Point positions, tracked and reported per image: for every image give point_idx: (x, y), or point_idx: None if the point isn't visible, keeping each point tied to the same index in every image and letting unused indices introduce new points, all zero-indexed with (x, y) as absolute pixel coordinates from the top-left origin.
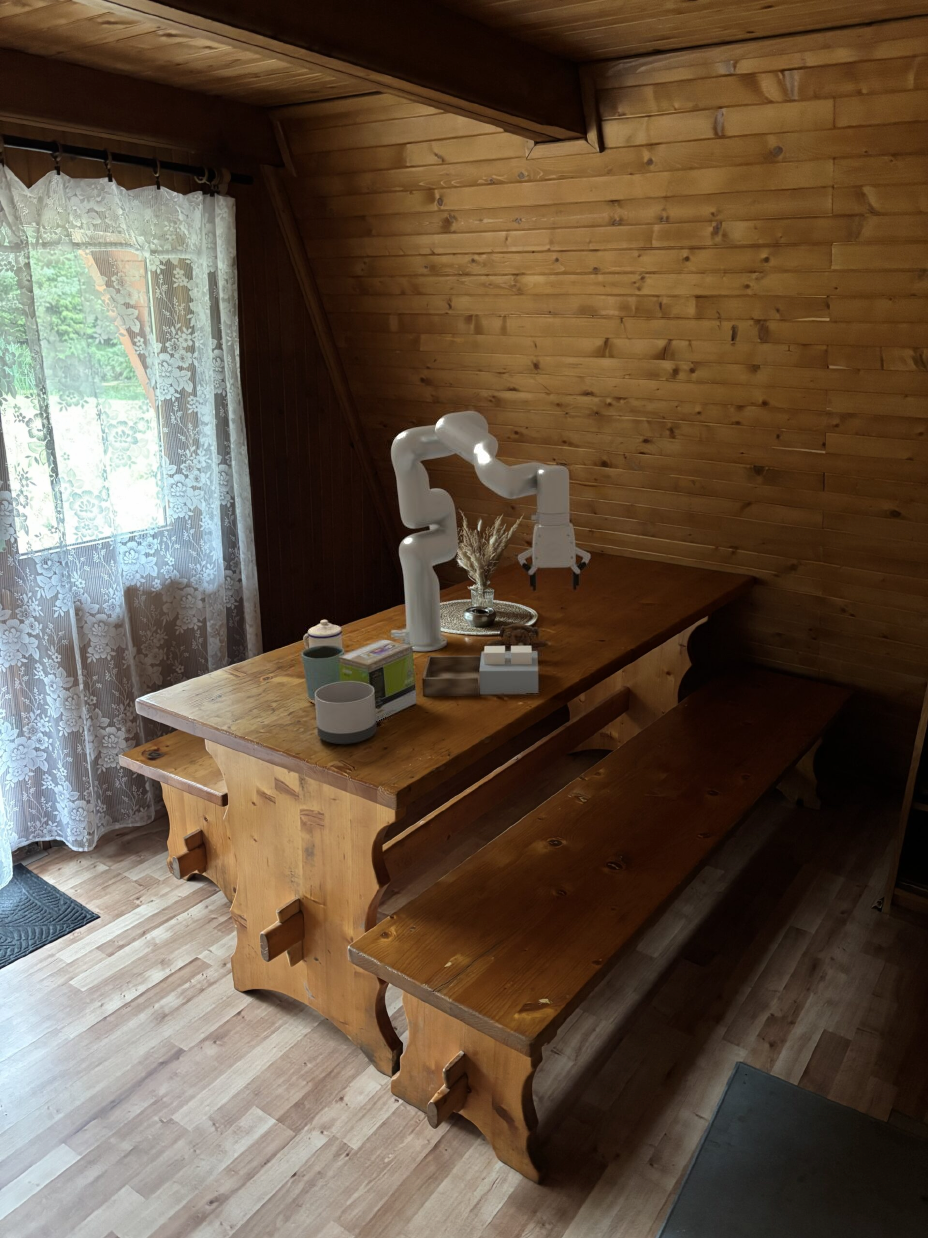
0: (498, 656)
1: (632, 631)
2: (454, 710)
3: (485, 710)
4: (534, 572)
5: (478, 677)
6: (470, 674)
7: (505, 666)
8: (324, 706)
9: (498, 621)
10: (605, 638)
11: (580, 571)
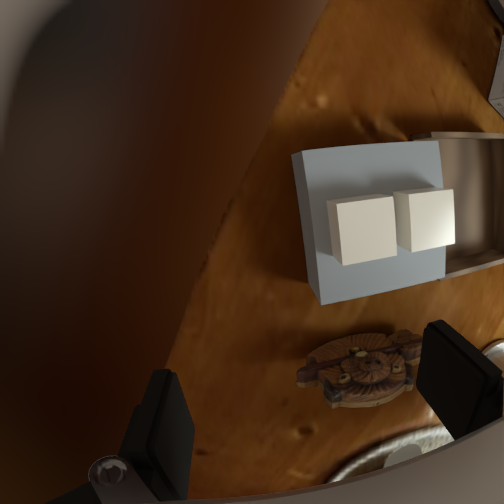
0: (417, 191)
1: None
2: (430, 67)
3: (381, 63)
4: (493, 405)
5: None
6: None
7: (389, 175)
8: None
9: None
10: (197, 460)
11: (97, 476)
